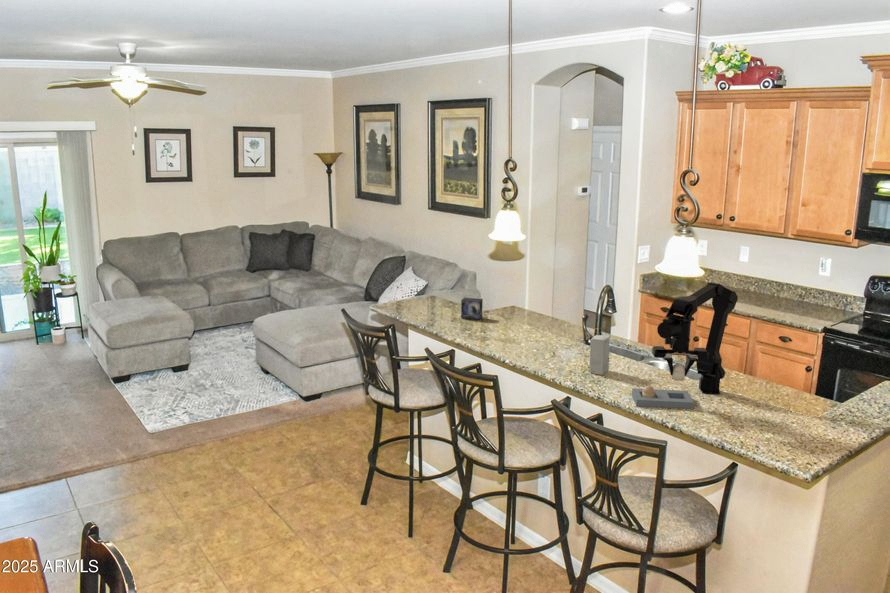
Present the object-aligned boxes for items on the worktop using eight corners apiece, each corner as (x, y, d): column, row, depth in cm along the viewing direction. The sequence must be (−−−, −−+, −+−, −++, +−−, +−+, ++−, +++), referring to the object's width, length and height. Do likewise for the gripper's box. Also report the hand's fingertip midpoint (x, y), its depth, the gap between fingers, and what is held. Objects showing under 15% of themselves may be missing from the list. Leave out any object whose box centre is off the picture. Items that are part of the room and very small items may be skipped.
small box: (460, 319, 375) (460, 299, 373) (463, 316, 381) (464, 297, 379) (479, 320, 372) (480, 301, 370) (482, 317, 378) (483, 298, 376)
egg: (683, 376, 256) (684, 361, 255) (685, 380, 252) (686, 365, 250) (670, 376, 256) (671, 361, 255) (672, 380, 252) (674, 365, 251)
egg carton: (686, 397, 261) (688, 382, 260) (693, 409, 250) (695, 393, 248) (631, 394, 264) (632, 379, 262) (636, 406, 252) (637, 391, 251)
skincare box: (602, 375, 285) (604, 340, 282) (588, 373, 288) (590, 338, 285) (608, 369, 292) (610, 335, 289) (594, 367, 295) (596, 333, 292)
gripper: (703, 328, 257) (699, 369, 260) (651, 327, 259) (648, 367, 263) (710, 337, 246) (707, 379, 250) (656, 335, 249) (653, 377, 252)
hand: (678, 375), depth 254 cm, fingers closed on egg, 4 cm apart
